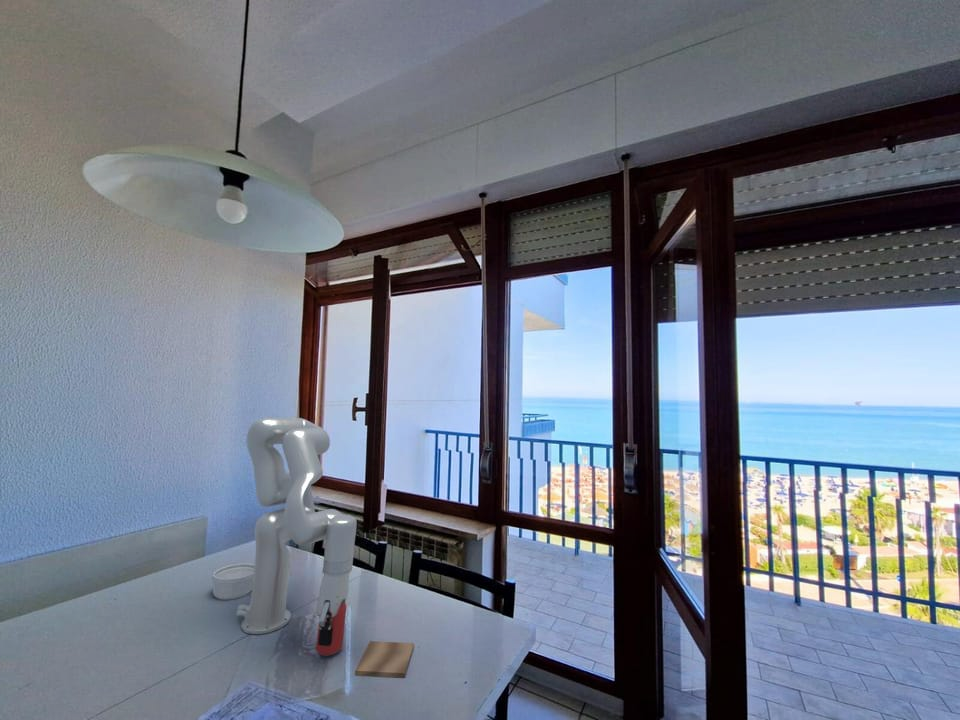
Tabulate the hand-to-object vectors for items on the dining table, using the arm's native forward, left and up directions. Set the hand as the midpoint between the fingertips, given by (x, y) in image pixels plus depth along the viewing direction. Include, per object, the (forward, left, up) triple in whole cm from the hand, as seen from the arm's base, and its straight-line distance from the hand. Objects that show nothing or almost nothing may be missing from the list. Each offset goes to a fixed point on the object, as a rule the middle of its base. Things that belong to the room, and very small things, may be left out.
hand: (330, 635), depth 100 cm
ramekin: (-44, +29, -4) cm, 53 cm away
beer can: (0, 0, -3) cm, 3 cm away
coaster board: (+16, -2, -4) cm, 16 cm away
